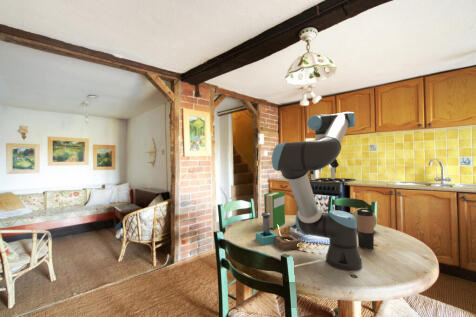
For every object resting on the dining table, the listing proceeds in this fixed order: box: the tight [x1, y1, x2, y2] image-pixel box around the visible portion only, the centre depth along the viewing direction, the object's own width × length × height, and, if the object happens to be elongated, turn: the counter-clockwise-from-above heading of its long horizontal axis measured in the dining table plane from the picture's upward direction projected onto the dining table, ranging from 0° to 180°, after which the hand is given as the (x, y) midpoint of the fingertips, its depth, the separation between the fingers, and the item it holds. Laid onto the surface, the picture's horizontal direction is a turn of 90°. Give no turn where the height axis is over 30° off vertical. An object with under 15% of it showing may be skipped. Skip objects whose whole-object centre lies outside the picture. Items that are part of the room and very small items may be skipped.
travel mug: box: [357, 208, 375, 250], centre depth 121 cm, size 8×8×20 cm
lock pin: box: [261, 211, 271, 236], centre depth 131 cm, size 5×5×16 cm
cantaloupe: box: [351, 207, 378, 229], centre depth 148 cm, size 15×15×15 cm
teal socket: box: [255, 230, 279, 246], centre depth 131 cm, size 10×10×5 cm
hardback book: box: [263, 190, 286, 231], centre depth 163 cm, size 18×7×24 cm, turn 144°
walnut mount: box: [274, 234, 301, 251], centre depth 123 cm, size 10×10×5 cm
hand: (323, 179), depth 127 cm, fingers open, 13 cm apart
